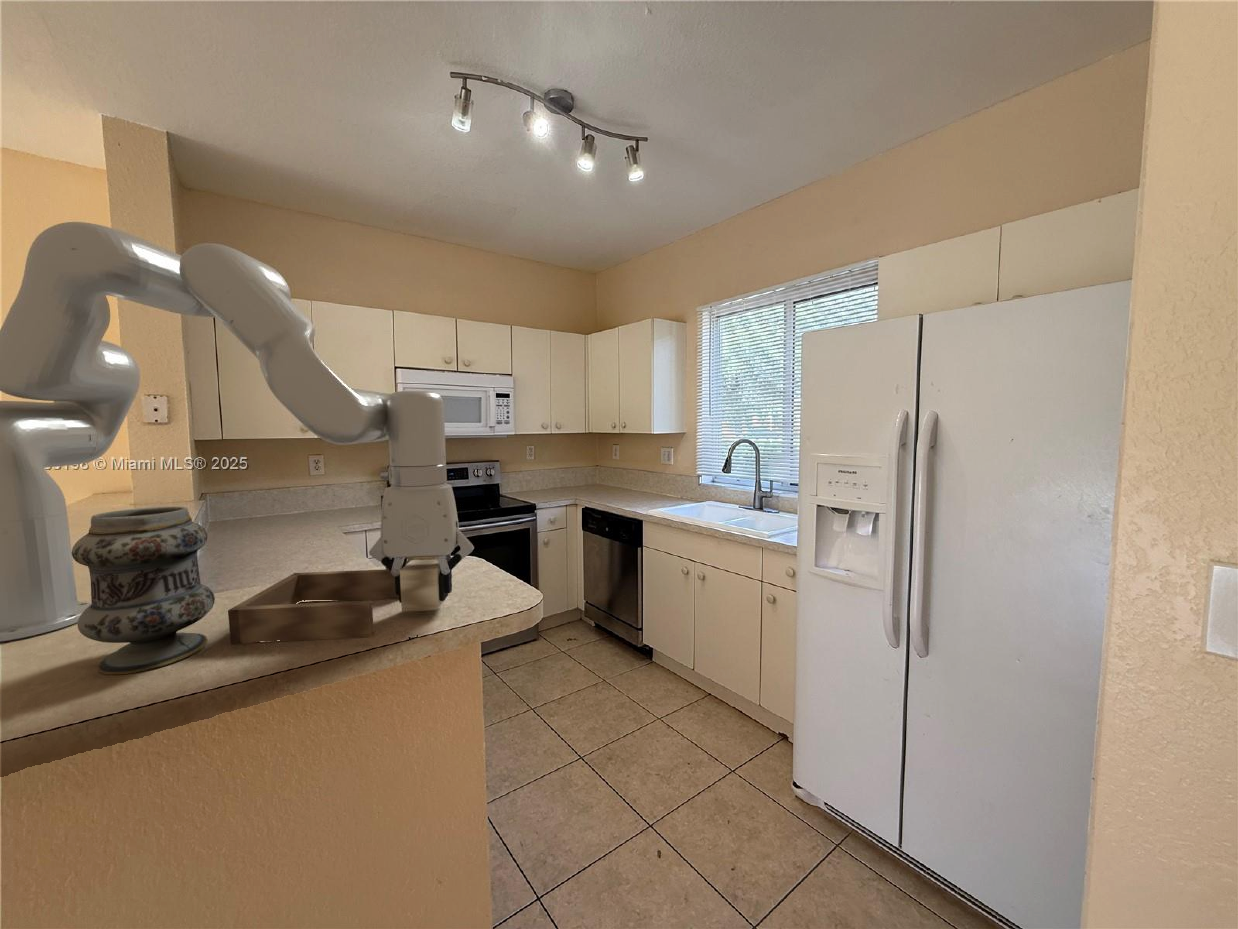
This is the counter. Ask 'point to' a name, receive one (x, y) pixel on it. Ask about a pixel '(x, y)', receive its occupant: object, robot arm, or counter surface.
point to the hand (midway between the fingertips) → (424, 597)
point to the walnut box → (312, 607)
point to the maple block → (420, 585)
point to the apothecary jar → (144, 586)
